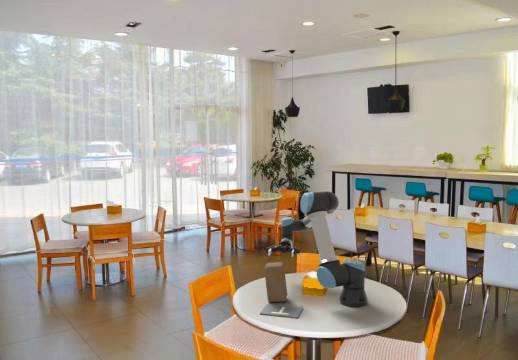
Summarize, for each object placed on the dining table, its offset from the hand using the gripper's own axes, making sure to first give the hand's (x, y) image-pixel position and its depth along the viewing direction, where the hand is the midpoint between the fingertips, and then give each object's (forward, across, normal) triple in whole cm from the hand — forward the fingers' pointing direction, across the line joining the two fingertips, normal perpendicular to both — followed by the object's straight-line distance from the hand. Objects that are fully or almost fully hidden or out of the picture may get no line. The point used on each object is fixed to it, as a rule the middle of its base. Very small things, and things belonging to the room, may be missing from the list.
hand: (280, 254), depth 271 cm
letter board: (+26, -4, -24) cm, 36 cm away
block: (+10, 0, -24) cm, 25 cm away
